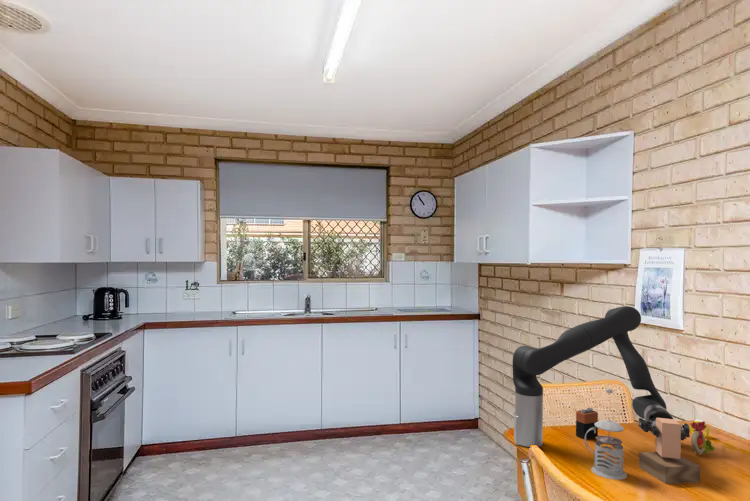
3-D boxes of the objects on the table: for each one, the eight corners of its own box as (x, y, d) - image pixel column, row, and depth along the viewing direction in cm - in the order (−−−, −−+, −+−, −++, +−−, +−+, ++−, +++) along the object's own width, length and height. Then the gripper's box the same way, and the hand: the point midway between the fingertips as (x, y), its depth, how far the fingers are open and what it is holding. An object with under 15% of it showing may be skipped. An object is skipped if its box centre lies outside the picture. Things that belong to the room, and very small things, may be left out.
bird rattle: (709, 465, 156) (717, 448, 161) (704, 436, 154) (712, 420, 159) (687, 458, 161) (696, 442, 166) (682, 430, 158) (691, 415, 164)
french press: (625, 482, 136) (626, 394, 137) (582, 472, 143) (582, 388, 144) (628, 470, 145) (628, 387, 146) (587, 461, 151) (587, 382, 152)
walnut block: (665, 484, 136) (665, 467, 137) (639, 468, 147) (639, 452, 147) (699, 483, 138) (699, 465, 138) (671, 467, 149) (671, 451, 149)
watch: (689, 435, 179) (688, 418, 180) (693, 434, 180) (692, 418, 181) (706, 439, 174) (704, 422, 174) (710, 438, 175) (709, 421, 175)
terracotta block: (661, 456, 141) (662, 422, 141) (655, 450, 146) (656, 417, 146) (680, 458, 140) (681, 424, 140) (673, 452, 145) (674, 419, 145)
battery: (598, 437, 173) (598, 409, 174) (585, 440, 171) (585, 411, 171) (588, 433, 177) (588, 406, 178) (575, 436, 174) (575, 408, 175)
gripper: (633, 404, 159) (642, 419, 143) (683, 410, 154) (698, 425, 138) (633, 427, 159) (642, 444, 143) (683, 433, 154) (698, 452, 138)
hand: (670, 435), depth 141 cm, fingers open, 6 cm apart
